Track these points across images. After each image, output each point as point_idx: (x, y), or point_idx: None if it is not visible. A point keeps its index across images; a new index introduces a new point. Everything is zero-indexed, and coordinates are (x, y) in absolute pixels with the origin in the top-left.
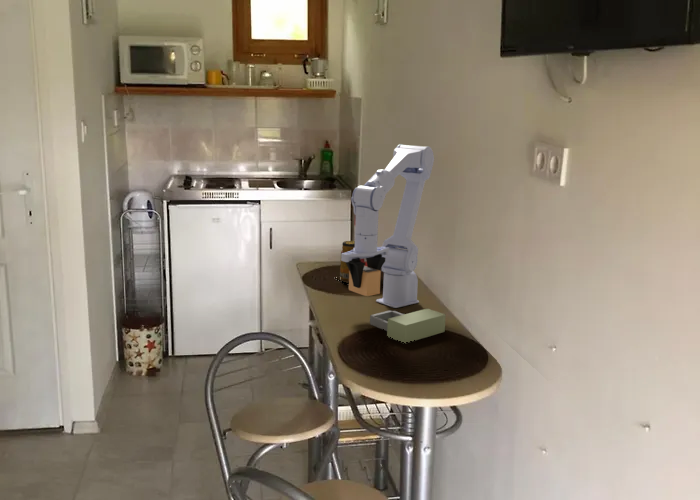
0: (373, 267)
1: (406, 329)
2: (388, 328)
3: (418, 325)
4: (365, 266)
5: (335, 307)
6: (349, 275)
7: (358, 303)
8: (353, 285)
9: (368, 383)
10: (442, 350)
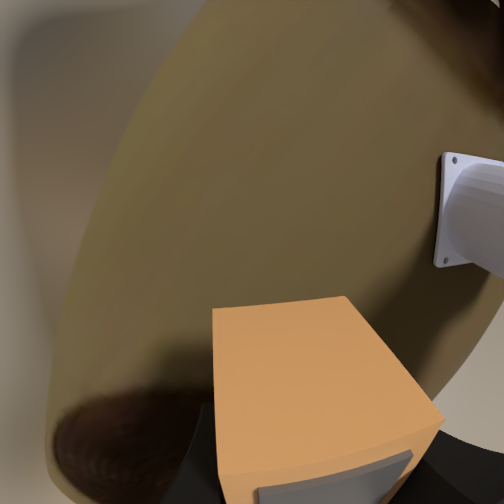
0: (398, 502)
1: None
2: None
3: None
4: (388, 486)
5: (250, 95)
6: (215, 399)
7: (380, 117)
8: (201, 408)
9: (74, 497)
10: None
